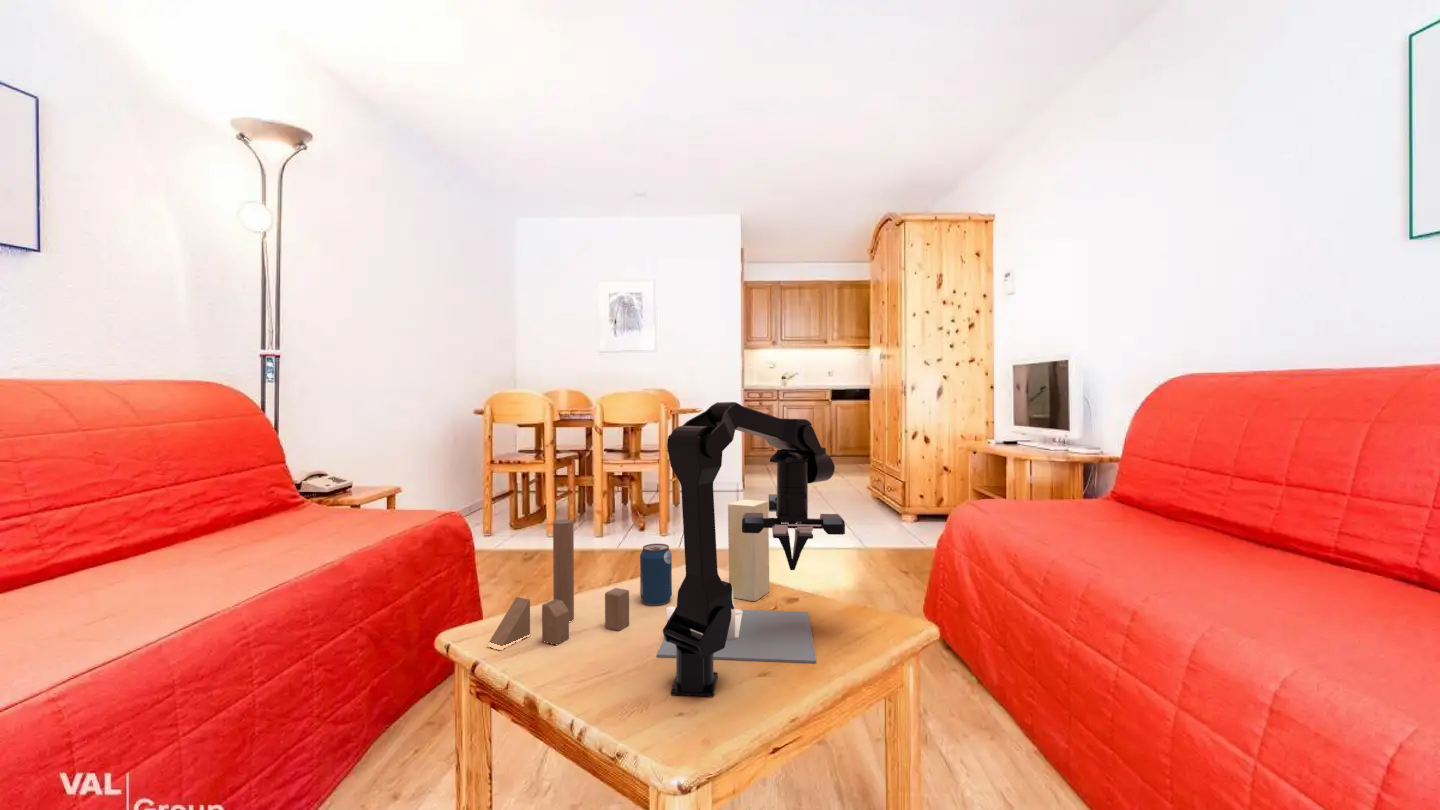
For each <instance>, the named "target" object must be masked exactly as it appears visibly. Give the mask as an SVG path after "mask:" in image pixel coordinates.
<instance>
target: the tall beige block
mask: <svg viewBox="0 0 1440 810" xmlns="http://www.w3.org/2000/svg"><path fill="white" fill-rule="evenodd" d="M745 513H763V518H769V500H756V499H740V500H738V501H737V500H736V501H734V502H731V503H728V504H727V519H728V520H727V522H728V523H727V527H728V529H727V532H728V534H727V535H728V543H727V544H728V583H731V586H732V587H733V599H739V600H744V601H748V602H749V601H750V602H756V601H758V600H760V599H761V598H762V597H764V596H766V595H767V594H768V593H769V592H770V550H769V549H770V547H769V546H770V544H769V543H770V542H769V537H770V535H769V534H770V533H769V531H770V528H763V530H762V531H761V532H760V533H743V532H742V517H743V515H744V514H745Z"/></svg>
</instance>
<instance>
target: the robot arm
mask: <svg viewBox="0 0 1440 810" xmlns="http://www.w3.org/2000/svg"><path fill="white" fill-rule="evenodd" d="M736 431H739V432H742V433H746V434H750V435H753V436H755V437H756V436H757V437H759V438H763V439H765V440H766V442H767V443H768V444H769V445H770V446H772V447H774V448H776V449H777V450H776V452H775V453H774V454H772V456H771V457H770V459H769V462H770V463H776V494H768V512H771V513H772V512H773V513H774V512H775V513H776V514H775V516H776V517H768V518H763V513H745V514H744V515H743V517H742V532H743V533H760V532H761V531H762V530H763V528H769V529H771V530H772V538H773V539H778V540H779V542H780V545H781V547H782V549H783V550H784V554H785V557H786V561H787V564H788V567H789V570H790V571H795V570H796V567H797V564H798V561H799V559H800V556H801V554H802V551H803V549H804V547H805V546H806V544H807V541H808V540H813V539H814V533H813V531H814V529H815V530H816V529H818V530H819V529H820V530H823V531H824V532H825V534H827V535H835V536H836V535H842V536H843V535H845V534H846V522H845V519H843V518H842V516H841V515H840V514H838V513H820V515H819V518H815V517H814V518H811V517H810V518H809V515H808V513H809V512H808V511H809V510H808V509H809V507H808V503H809V500H808V499H809V498H808V496H809V495H808V494H809V493H808V491H809V490H808V488H809V487H808V484H812V483H819V482H825V481H829V480H830V479H831V478H832V477H833V476H834V474H835V467H836V466H835V464H834V461H833V459H832V457H831V456H830V455H829V454H827V453H826V452H827V451H826V447H822V445H821V443H820V440H819V439H818V437H817V434H816V431H815V429H814V428H813V426H812V422H810V420H808V419H805V418H783V417H782V418H781V417H780V418H779V417H778V416H774V415H771V414H768V413H765V412H762V411H759V410H756V409H753V408H749V407H746V406H744V405H741V404H740V403H738V402H735V401H723V402H721V401H720V402H715V403H714V404H712V405H710V406H709V408H706V410H705V411H703V412H701V413H700V414H697V415H696V416H694V417H692V418H691V419H689V420H686V421H685V422H684V423H683V424H682V425H680V426H677V427H675V428H674V429H673V430H672V432H671V433H670V435H668V437H667V440H666V441H667V442H666V447H667V454H668V458H669V464H670V467H671V469H672V471H673V473H674V474H675V476H676V478H677V480H678V482H679V484H680V490H681V507H682V510H681V511H682V525H683V526H682V527H683V544H684V546H683V547H684V563H685V576H684V579H683V580H682V582H681V585H680V587H679V588H678V590H677V597H676V598H677V600H676V606H675V610H674V612H673V614H672V615H671V617H670V619H669V620H668V622H667V621H666V623H665V625H664V627H663V629H662V634H663V637H664V638H665V641H667V642H670V643H673V644H675V645H676V658H675V664H676V665H675V666H676V667H675V671H676V673H675V674H676V675H675V677H674V680H673V682H672V686H671V688H670V695H676V696H679V695H680V696H696V697H697V696H699V697H700V696H701V697H714V695H715V692H716V689H717V685H718V684H717V682H718V679H719V672H716V671H714V659H713V653H715V652H717V651H719V650H722V649H724V648H725V644H726V639H727V635H728V630H729V626H730V622H731V614H732V612H731V609H734V606H733V604H734V602H733V603H732V586H731V583H729V581H728V582H727V581H724V580H722V579H721V577H720V576H719V572H718V571H719V570H718V557H717V555H718V554H717V539H716V538H717V534H716V518H715V513H716V512H715V501H714V500H715V497H714V482H715V480H716V478H717V476H718V474H719V472H720V469H721V468H722V463H723V452H724V450H725V449H726V448H727V447H728V446H729V445H730V444H731V443H732V442H733V441H734V438H735V433H736ZM789 529H795V530H794V541H793V551H792V549H791V547H792V546H791V540H790V538H791V537H790V533H789ZM690 629H692V630H695V631H697V632H700V633H702V634H703V635H701V634H699V633H696V632H694V631H691V630H690Z"/></svg>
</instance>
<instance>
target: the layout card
mask: <svg viewBox="0 0 1440 810" xmlns="http://www.w3.org/2000/svg"><path fill="white" fill-rule="evenodd" d="M733 606H734V609H731V612H732V614H731V622H730V626H729V630H728V635H727V639H726V644H725V648H724V649H722V650H719V651H717V652H715V653H713V660H720V661H721V660H722V661H724V660H725V661H747V662H748V661H749V662H752V661H753V662H773V663H774V662H775V663H776V662H777V663H800V664H817V657H816V651H815V645H814V639H813V633H812V627H811V621H810V620H811V619H810V613H809V611H793V610H792V611H790V610H788V611H787V610H786V611H785V610H762V609H761V610H755V609H739V608H735V607H736V604H735V603H733ZM675 609H676V606H671V605H669V606H667V607H666V623H667V622H668V620H669V619H670V617H671V615H672V614H673V612H674V610H675ZM690 630H691V631H694V632H696V633H699V634H701V635H703V634H702V633H700V632H697V631H695V630H692V629H690ZM655 656H656V658H668V659H669V658H670V659H671V658H674V659H676V645H675V644H673V643H670V642H667V641H665V637H664V638H663V640H662V643H660V647H659V649H658V651H657V653H656V655H655Z"/></svg>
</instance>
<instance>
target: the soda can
mask: <svg viewBox="0 0 1440 810" xmlns="http://www.w3.org/2000/svg"><path fill="white" fill-rule="evenodd" d="M639 558H640V559H639V562H640V563H639V567H640V568H639V570H640V571H639V576H640V577H639V578H640V579H639V581H640V582H639V586H640V587H639V588H640V589H639V590H640V591H639V594H640V598H641V600H642V602H643V604H645V605H648V606H662V605H665V604H668V602H669V601H670V599H671V598H672V594H673V584H672V583H673V582H672V581H673V578H672V577H673V575H672V574H673V573H672V571H673V570H672V568H673V567H672V566H673V565H672V552H671V550H670V546H669V545H668V544H666V543H649V544H646V545H643V546H642V551H641V552H640V555H639Z"/></svg>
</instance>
